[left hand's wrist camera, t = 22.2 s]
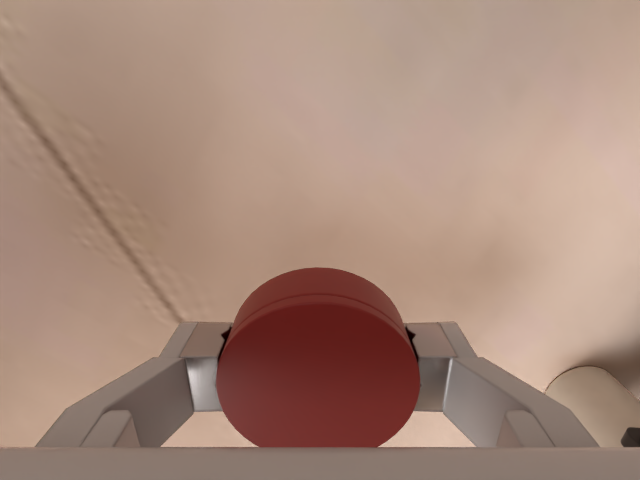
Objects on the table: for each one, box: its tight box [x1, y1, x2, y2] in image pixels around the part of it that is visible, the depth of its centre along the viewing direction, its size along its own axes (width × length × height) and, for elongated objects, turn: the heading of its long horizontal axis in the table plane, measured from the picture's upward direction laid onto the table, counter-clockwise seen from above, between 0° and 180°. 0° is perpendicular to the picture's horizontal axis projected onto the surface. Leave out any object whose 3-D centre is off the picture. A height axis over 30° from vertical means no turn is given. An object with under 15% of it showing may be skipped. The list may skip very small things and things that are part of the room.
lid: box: [216, 268, 420, 447], centre depth 10 cm, size 5×5×2 cm
